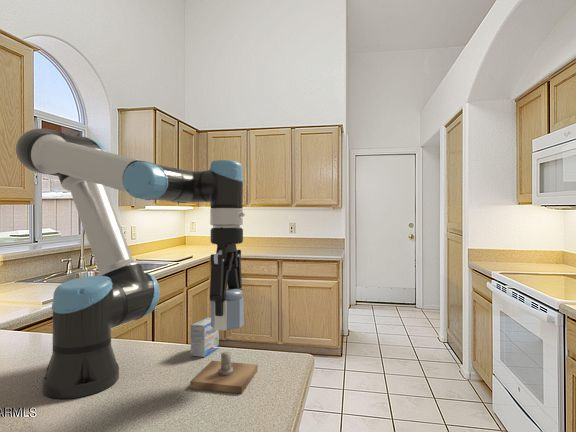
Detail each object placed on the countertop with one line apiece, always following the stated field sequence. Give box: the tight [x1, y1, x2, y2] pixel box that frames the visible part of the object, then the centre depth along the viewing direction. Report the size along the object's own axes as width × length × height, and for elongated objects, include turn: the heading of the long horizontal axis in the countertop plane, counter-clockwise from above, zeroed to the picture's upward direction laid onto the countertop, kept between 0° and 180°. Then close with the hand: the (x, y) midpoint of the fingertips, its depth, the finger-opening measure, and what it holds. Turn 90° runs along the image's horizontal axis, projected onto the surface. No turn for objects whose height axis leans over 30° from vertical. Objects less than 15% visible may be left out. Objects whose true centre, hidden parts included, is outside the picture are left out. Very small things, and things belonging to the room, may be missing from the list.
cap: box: [210, 288, 245, 331], centre depth 86 cm, size 7×7×8 cm
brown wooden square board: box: [189, 351, 259, 394], centre depth 86 cm, size 12×12×6 cm
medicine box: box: [190, 317, 220, 358], centre depth 103 cm, size 8×4×9 cm, turn 161°
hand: (227, 324), depth 86 cm, fingers closed on cap, 7 cm apart
